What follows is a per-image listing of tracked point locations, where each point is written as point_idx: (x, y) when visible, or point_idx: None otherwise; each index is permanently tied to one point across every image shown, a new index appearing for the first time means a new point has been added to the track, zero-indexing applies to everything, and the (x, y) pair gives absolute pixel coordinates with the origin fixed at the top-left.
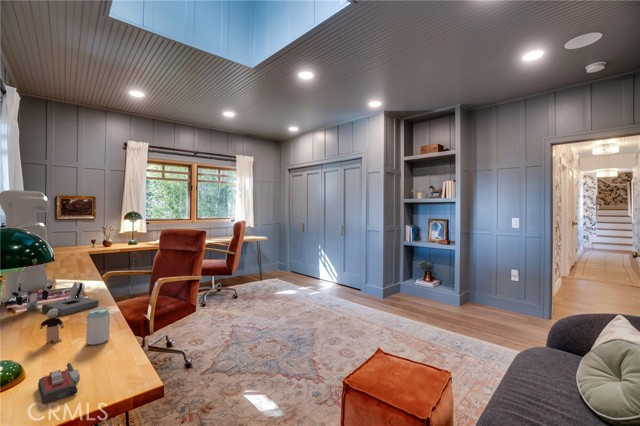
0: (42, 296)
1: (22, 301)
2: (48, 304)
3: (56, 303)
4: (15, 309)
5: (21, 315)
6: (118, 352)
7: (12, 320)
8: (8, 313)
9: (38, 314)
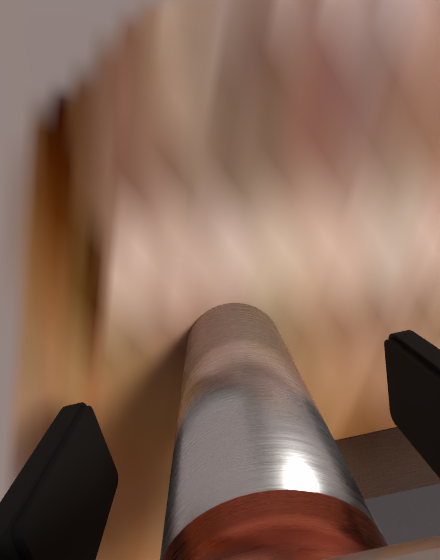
0: (413, 374)
1: (104, 528)
2: None
3: None
4: (111, 171)
5: (127, 466)
6: None
7: None
8: (40, 305)
9: None
